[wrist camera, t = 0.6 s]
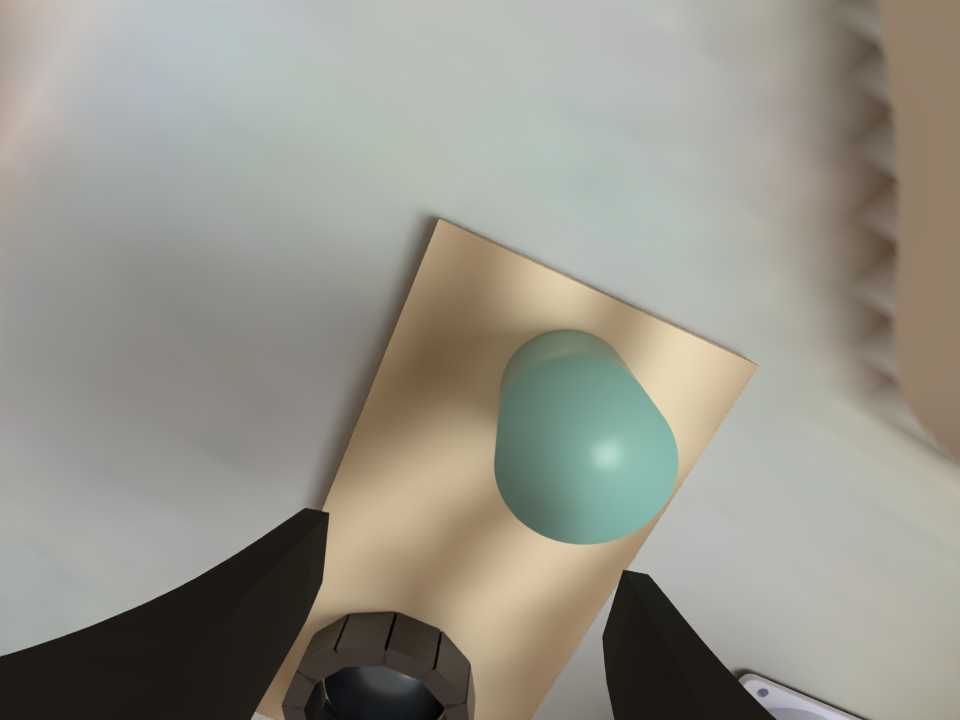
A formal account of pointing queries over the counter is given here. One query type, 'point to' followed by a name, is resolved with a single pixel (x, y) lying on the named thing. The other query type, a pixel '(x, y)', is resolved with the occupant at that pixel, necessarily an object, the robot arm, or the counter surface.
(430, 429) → the wooden board
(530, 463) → the teal cylinder
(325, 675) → the dark brown ring
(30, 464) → the counter surface
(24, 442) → the counter surface
